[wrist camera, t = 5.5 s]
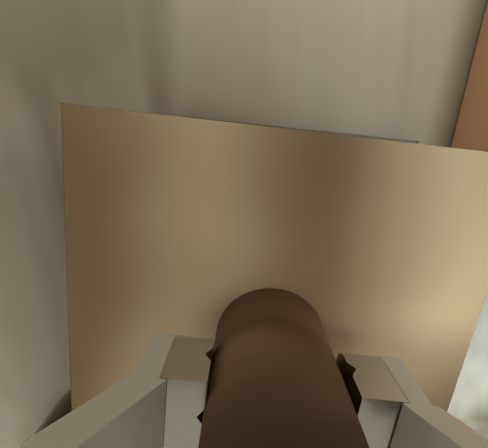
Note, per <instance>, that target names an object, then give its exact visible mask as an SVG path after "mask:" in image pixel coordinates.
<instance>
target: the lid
mask: <svg viewBox="0 0 488 448" xmlns="http://www.w3.org/2000/svg"><path fill="white" fill-rule="evenodd" d="M61 119H62V147H63V175H64V204H65V232H66V261H67V289H68V317H69V346H70V374H71V403H72V411H73V410H75V409H76V408H78V407H79V406H81V405H83V404H84V403H86V402H87V401H89V400H91V399H92V398H94V397H95V396H97V395H99V394H100V393H102V392H103V391H105V390H107V389H108V388H110V387H111V386H113V385H115V384H116V383H118V382H119V381H121V380H123V379H124V378H126V377H128V376H135V375H136V373H137V371H138V369H139V367H140V365H141V362H142V360H143V358H144V356H145V354H146V352H147V349H148V347H149V345H150V343H151V341H152V339H153V336H154V335H155V334H156V333H163V334H173V335H181V336H189V337H197V338H205V339H214V352H213V360H212V367H211V372H210V377H209V386H208V393H207V399H206V405H205V409H204V413H203V420H202V426H201V432H200V439H199V445H198V448H369V445H368V443H367V440H366V437H365V434H364V432H363V429H362V426H361V424H360V421H359V419H358V416H357V414H356V411H355V408H354V406H353V403H352V401H351V398H350V395H349V393H348V390H347V388H346V385H345V383H344V380H343V377H342V375H341V372H340V370H339V367H338V364H337V362H336V358H337V356H338V354H339V353H346V354H357V355H368V356H387V357H398V358H399V359H401V360H402V362H403V363H404V365H405V366H406V367H407V369H408V370H409V372H410V373H411V375H412V376H413V378H414V379H415V381H416V382H417V384H418V385H419V386H420V388H421V389H422V391H423V392H424V394H425V395H426V397H427V398H428V400H429V401H430V403H431V404H432V405H433V406H439V407H441V408H442V409H444V410H445V411H447V410H448V407H449V404H450V401H451V398H452V395H453V392H454V389H455V386H456V383H457V380H458V377H459V374H460V371H461V368H462V365H463V362H464V359H465V356H466V353H467V350H468V347H469V344H470V342H471V339H472V336H473V333H474V330H475V327H476V324H477V321H478V318H479V315H480V312H481V309H482V306H483V303H484V300H485V297H486V294H487V291H488V152H485V151H476V150H467V149H458V148H450V147H441V146H432V145H423V144H415V143H406V142H397V141H388V140H380V139H371V138H362V137H353V136H345V135H336V134H327V133H319V132H310V131H301V130H292V129H284V128H275V127H266V126H257V125H249V124H240V123H231V122H222V121H214V120H205V119H196V118H187V117H179V116H170V115H161V114H153V113H144V112H135V111H126V110H118V109H109V108H100V107H91V106H83V105H74V104H65V103H61Z"/></svg>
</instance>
